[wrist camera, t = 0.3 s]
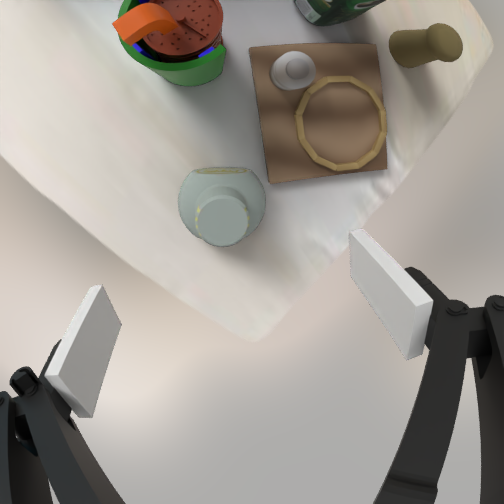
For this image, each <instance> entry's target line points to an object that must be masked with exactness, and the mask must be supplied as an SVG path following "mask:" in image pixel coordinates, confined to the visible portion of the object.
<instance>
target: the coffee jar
mask: <svg viewBox="0 0 504 504" xmlns="http://www.w3.org/2000/svg"><path fill="white" fill-rule="evenodd" d="M384 1H386V0H295V3H296V5H297V7H298V8H299V10H300V11H301V13H302V14H303V16H304V17H305V18H306V19H307V20H308V21H309V22H311V23H313V24H315V25H318V26H329V25H334V24H338V23H342V22H345V21H348V20H351V19H353V18H355V17H357V16H359V15H361V14H363V13H364V12H366V11H368V10H369V9H371V8H373V7H374V6H376V5H378V4H380V3H382V2H384Z"/></svg>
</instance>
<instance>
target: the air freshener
mask: <svg viewBox="0 0 504 504" xmlns="http://www.w3.org/2000/svg"><path fill="white" fill-rule="evenodd" d="M178 208H179V213H180V216H181V219H182V221H183V223H184V224H185V226H186V228H187V229H188V230H189V231H190V232H191V233H192V234H193V235H195V236H196V237H198V238H201V239H203V240H204V241H205V242H207V243H209V244H210V245H213V246H217V247H228V246H231V245H234V244H236V243H238V242H239V241H241V240H242V239H243V238H244V237H247V236H248V235H250V234H251V233H252V232H253V231H254V230H255V229H256V228H257V226H258V225H259V223H260V221H261V219H262V217H263V214H264V210H265V193H264V189H263V186H262V184H261V182H260V181H259V179H258V178H257V176H256V175H255V174H254V173H253V172H252V171H251V170H249V169H244V168H228V167H221V168H204V169H198V170H194V171H192V172H191V173H190V174H189V175H188V176H187V178H186V179H185V180H184V182H183V184H182V186H181V189H180V192H179V198H178Z"/></svg>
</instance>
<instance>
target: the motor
mask: <svg viewBox="0 0 504 504" xmlns="http://www.w3.org/2000/svg"><path fill="white" fill-rule="evenodd" d="M222 22H223V11H222V7H221V4H220V2H219V1H218V0H124V2H123V4H122V6H121V8H120V11H119V15H118V19H117V20H116V21H115V22H113V23H112V25H113V26H114V28H115V29H116V31H117V32H118V35H119V39H120V41H121V44H122V45H123V47H124V49H125V50H126V51H127V53H128V54H129V55H130V56H131V57H132V58H133V59H135V60H136V61H138V62H139V63H141V64H142V65H144V66H146V67H147V68H149V69H151V70H152V71H154V72H155V73H157V74H159V75H160V76H162V77H163V78H165V79H166V80H168V81H170V82H172V83H174V84H177V85H181V86H197V85H202V84H205V83H207V82H210V81H211V80H213V79H215V78H216V77H218V76H219V75H220V74H221V73H222V69H223V64H224V58H225V53H226V49H225V48H224V47H223V39H222V36H221V32H222ZM157 54H158V55H159V56H160V58H161V60H162V62H159V61H158V56H157Z"/></svg>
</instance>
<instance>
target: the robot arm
mask: <svg viewBox="0 0 504 504" xmlns="http://www.w3.org/2000/svg"><path fill="white" fill-rule="evenodd" d="M349 244H350V265H351V266H350V267H351V278H352V279H353V281H354V282H355V283H356V285H357V286H358V288H359V289H360V291H361V292H362V294H363V295H364V296H365V298H366V300H367V301H368V302H369V304H370V305H371V307H372V308H373V310H374V311H375V313H376V314H377V316H378V317H379V319H380V320H381V322H382V323H383V325H384V326H385V328H386V329H387V331H388V332H389V334H390V336H391V337H392V339H393V340H394V342H395V343H396V345H397V346H398V348H399V349H400V351H401V353H402V354H403V356H404V357H405V359H406V360H409V359H412V358H414V357H417V356H419V355H422V354H423V349H424V344H425V345H426V346H427V347H428V349H429V350H430V351H429V355H428V358H427V362H426V366H425V370H424V374H423V377H422V381H421V384H420V388H419V391H418V394H417V397H416V401H415V404H414V407H413V410H412V413H411V416H410V418H409V421H408V424H407V427H406V430H405V432H404V435H403V438H402V440H401V443H400V445H399V448H398V451H397V453H396V455H395V457H394V460H393V462H392V465H391V467H390V469H389V471H388V473H387V476H386V478H385V480H384V482H383V484H382V486H381V488H380V490H379V493H378V494H377V497H376V499H375V501H374V502H373V504H434V502H435V499H436V496H437V492H438V489H437V483H438V479H439V477H440V474H441V470H442V467H443V464H444V461H445V458H446V454H447V451H448V447H449V444H450V440H451V436H452V433H453V428H454V424H455V420H456V415H457V411H458V406H459V401H460V396H461V391H462V385H463V379H464V372H465V365H466V358H472V364H473V370H474V377H475V383H476V391H477V400H478V410H479V421H480V437H481V494H480V504H504V297H503V296H499V295H493V296H490V297H488V298H487V300H486V302H485V306H484V307H478V308H469V307H468V306H467V305H466V304H465V303H463V302H462V301H458V300H449V299H448V298H447V297H446V296H445V295H444V294H443V293H442V292H441V291H440V290H439V289H438V288H437V287H436V286H435V285H434V284H432V282H431V281H430V280H429V279H427V277H426V276H425V275H424V274H423V273H422V272H421V271H420V270H417V269H415V268H413V267H409V268H405V269H403V268H402V267H401V266H400V265H399V264H398V263H397V262H396V261H395V260H394V259H393V258H392V257H391V256H390V255H389V254H388V253H387V252H386V251H385V250H384V249H383V248H382V247H381V246H380V245H379V244H378V243H377V242H376V241H375V240H374V239H373V238H372V237H371V236H370V235H369V234H368V233H367V232H366V231H365V230H364V229H363V228H361V229H357V230H352V231H349ZM121 325H122V324H121V322H120V320H119V318H118V316H117V314H116V312H115V310H114V308H113V306H112V304H111V302H110V300H109V297H108V295H107V293H106V291H105V289H104V287H103V285H97V286H92V287H91V288H90V289H89V291H88V293H87V294H86V296H85V298H84V300H83V301H82V303H81V305H80V307H79V309H78V310H77V312H76V314H75V316H74V318H73V320H72V321H71V323H70V325H69V327H68V329H67V331H66V333H65V334H64V336H63V338H62V339H61V340H60V341H59V342H58V343H57V344H56V345H55V346H54V347H53V349H52V351H51V353H50V356H49V357H48V360H47V362H46V363H45V365H44V367H43V369H42V372H41V374H40V376H39V378H37V376H36V375H35V373H34V372H33V371H32V369H31V368H30V367H22V368H20V369H18V370H17V371H16V372H14V374H13V375H12V376H11V379H10V385H11V387H12V388H13V389H14V390H15V392H16V393H17V394H18V395H19V396H17V397H14V398H11V396H10V395H9V394H8V393H7V392H6V391H2V392H0V504H53V501H52V497H51V492H50V487H49V481H50V484H51V486H52V488H53V490H54V492H55V495H56V497H57V499H58V501H59V503H60V504H125V502H124V501H123V500H122V498H121V497H120V495H119V494H118V493H117V491H116V490H115V488H114V487H113V485H112V484H111V483H110V481H109V479H108V478H107V476H106V475H105V473H104V472H103V470H102V469H101V467H100V466H99V464H98V462H97V461H96V459H95V457H94V456H93V454H92V452H91V451H90V449H89V447H88V446H87V444H86V442H85V440H84V438H83V437H82V435H81V433H80V431H79V429H78V428H77V426H76V424H75V422H74V420H73V419H72V418H71V417H70V413H71V410H73V411H74V412H75V414H76V415H77V416H78V417H80V418H92V417H93V414H94V410H95V407H96V403H97V400H98V396H99V393H100V389H101V386H102V383H103V379H104V376H105V373H106V370H107V367H108V364H109V360H110V357H111V354H112V351H113V348H114V345H115V342H116V339H117V336H118V334H119V330H120V328H121ZM16 436H17V438H16ZM48 479H49V481H48Z"/></svg>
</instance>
